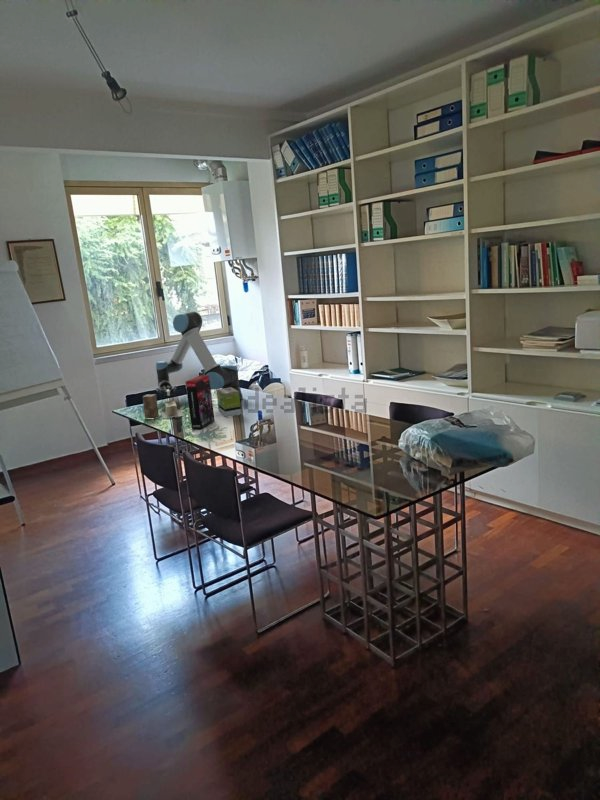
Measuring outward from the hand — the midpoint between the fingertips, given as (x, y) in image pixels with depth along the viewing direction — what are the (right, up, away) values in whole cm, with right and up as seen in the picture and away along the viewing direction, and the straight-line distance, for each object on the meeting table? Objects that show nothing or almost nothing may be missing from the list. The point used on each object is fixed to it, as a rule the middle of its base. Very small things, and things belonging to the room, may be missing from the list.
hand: (168, 393), depth 363 cm
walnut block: (-8, -15, -9) cm, 19 cm away
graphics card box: (+27, -19, -35) cm, 48 cm away
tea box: (+40, -13, -12) cm, 43 cm away
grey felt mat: (+3, -13, -4) cm, 14 cm away
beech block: (0, -8, +5) cm, 9 cm away
